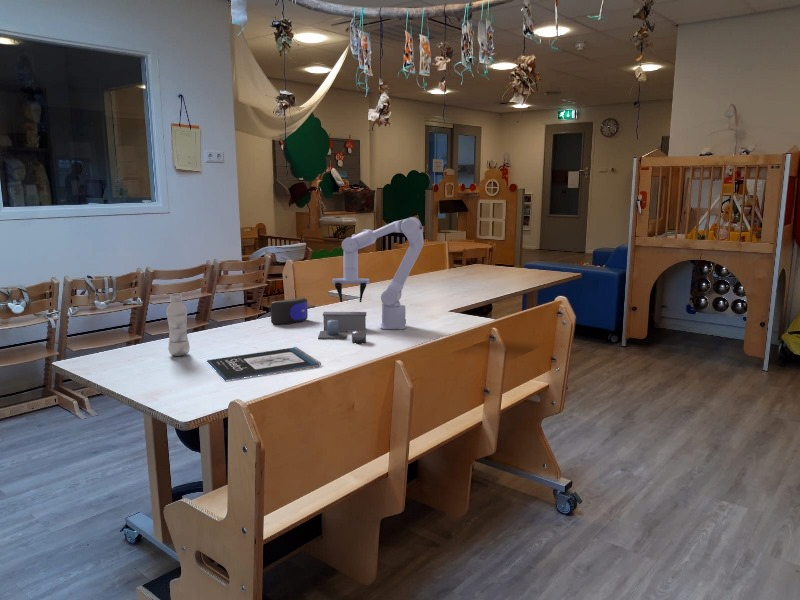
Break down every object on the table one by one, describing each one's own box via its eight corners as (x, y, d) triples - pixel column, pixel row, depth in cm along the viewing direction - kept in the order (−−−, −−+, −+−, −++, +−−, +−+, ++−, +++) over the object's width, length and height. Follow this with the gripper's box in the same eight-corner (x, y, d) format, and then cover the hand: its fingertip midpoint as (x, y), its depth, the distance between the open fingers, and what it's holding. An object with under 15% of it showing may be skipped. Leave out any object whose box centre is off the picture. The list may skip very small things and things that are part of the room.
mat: (346, 332, 230) (346, 331, 230) (345, 339, 220) (345, 337, 220) (320, 332, 230) (320, 330, 229) (317, 339, 220) (317, 337, 220)
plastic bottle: (178, 359, 193) (174, 297, 189) (164, 355, 197) (160, 295, 193) (194, 354, 198) (191, 294, 195) (180, 351, 202) (177, 292, 198)
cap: (366, 340, 219) (366, 329, 218) (365, 344, 214) (365, 333, 213) (352, 340, 219) (352, 329, 218) (351, 344, 214) (351, 333, 213)
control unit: (366, 328, 237) (366, 311, 236) (366, 331, 232) (366, 314, 231) (323, 328, 237) (323, 311, 235) (322, 331, 232) (322, 314, 230)
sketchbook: (206, 364, 191) (206, 357, 190) (297, 351, 206) (296, 345, 205) (225, 383, 172) (224, 376, 172) (322, 367, 188) (322, 361, 187)
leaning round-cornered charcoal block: (275, 326, 238) (274, 303, 236) (270, 324, 242) (269, 301, 240) (311, 321, 248) (311, 298, 246) (306, 319, 252) (305, 297, 250)
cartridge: (340, 333, 226) (340, 320, 225) (334, 335, 222) (335, 322, 221) (330, 332, 227) (330, 319, 226) (325, 334, 224) (325, 321, 223)
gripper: (369, 266, 243) (369, 299, 245) (333, 266, 242) (333, 299, 245) (369, 269, 236) (369, 303, 238) (331, 268, 235) (332, 303, 238)
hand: (350, 301), depth 241 cm, fingers open, 7 cm apart
